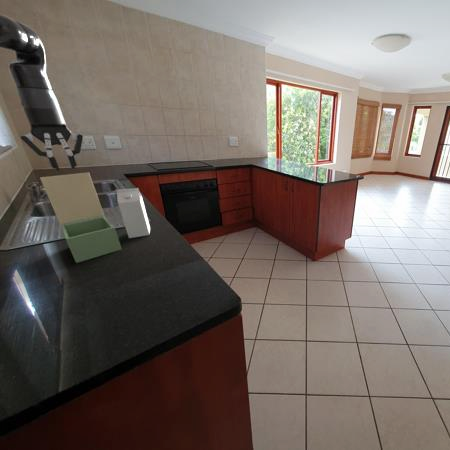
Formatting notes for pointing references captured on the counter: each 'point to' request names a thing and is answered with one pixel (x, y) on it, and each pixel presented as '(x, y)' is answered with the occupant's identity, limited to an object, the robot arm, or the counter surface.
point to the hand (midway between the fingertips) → (65, 168)
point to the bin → (91, 238)
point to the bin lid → (72, 197)
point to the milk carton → (133, 212)
